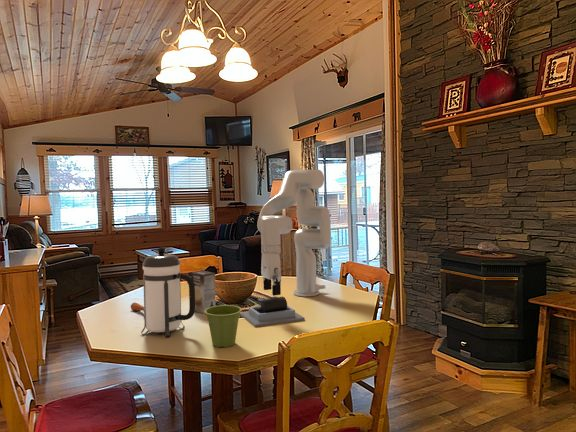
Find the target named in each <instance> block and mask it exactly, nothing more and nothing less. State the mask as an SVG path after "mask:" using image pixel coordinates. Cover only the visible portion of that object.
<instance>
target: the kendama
mask: <svg viewBox="0 0 576 432" xmlns="http://www.w3.org/2000/svg"><path fill="white" fill-rule="evenodd" d="M130 309H131V310H132V311H144V305H142V304H140V303H138V302H132V304H130Z"/></svg>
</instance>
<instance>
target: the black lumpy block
mask: <svg viewBox="0 0 576 432" xmlns="http://www.w3.org/2000/svg"><path fill="white" fill-rule="evenodd" d="M257 305H259V306H261V308H260V307H257V306H256V307H257V310H258V311H259V312H261V313H269V312H277V311H286V310H287V306H288V302H287V299H286V297H284V296H277V295H275V296H270V297H269V298H264V297H263V298H258V299H257ZM261 313H260V314H261Z"/></svg>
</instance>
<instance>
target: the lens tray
mask: <svg viewBox="0 0 576 432" xmlns="http://www.w3.org/2000/svg"><path fill="white" fill-rule="evenodd" d="M257 307H260V308H261V305H259V306H258V305H257V306H250V307H248V311H243V312H242V311H241V312H240V316H241V317H242V318H244V319H245V320H246V321H247V322H248V323H249V324H251V325H252V326H253V327H254V328H257V327H260V328H261V327H265V326H267V327H268V326H274V325H281V324H288V323H294V322H295V323H296V322H297V323H298V322H303V321H306V320H305V319H306V318H305V317H304V316H302V315H301V314H299V313H298V312H296V310H295V308H293V307H291V306H289V305H287V310H286V311H277V312H269V313H261V312H259V311H258V310H257ZM260 313H261V314H260Z"/></svg>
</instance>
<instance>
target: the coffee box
mask: <svg viewBox="0 0 576 432" xmlns="http://www.w3.org/2000/svg"><path fill="white" fill-rule="evenodd" d="M190 277H191V278H192V280H193V282H194V286H195V312H197V313H201V314H203V315H205V314H206V313H205V310H206V309H207V308H210V307H213V306H216V273H215V272H211V271H206V270H199V271H193V272H191V273H190Z"/></svg>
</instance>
